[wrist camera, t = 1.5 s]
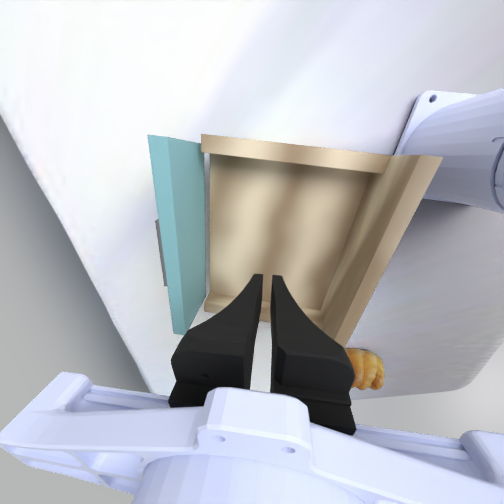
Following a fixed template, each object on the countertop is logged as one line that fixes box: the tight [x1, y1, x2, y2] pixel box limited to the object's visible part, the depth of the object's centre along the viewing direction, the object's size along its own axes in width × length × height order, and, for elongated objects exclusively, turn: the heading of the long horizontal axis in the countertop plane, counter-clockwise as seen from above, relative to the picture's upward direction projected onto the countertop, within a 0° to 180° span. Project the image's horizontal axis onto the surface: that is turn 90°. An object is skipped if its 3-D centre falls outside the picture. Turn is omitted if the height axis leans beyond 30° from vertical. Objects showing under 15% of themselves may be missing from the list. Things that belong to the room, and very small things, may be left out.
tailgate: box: [148, 135, 206, 335], centre depth 17 cm, size 2×17×6 cm, turn 174°
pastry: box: [344, 348, 384, 390], centre depth 29 cm, size 9×7×4 cm
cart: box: [201, 134, 443, 348], centre depth 18 cm, size 15×18×8 cm
